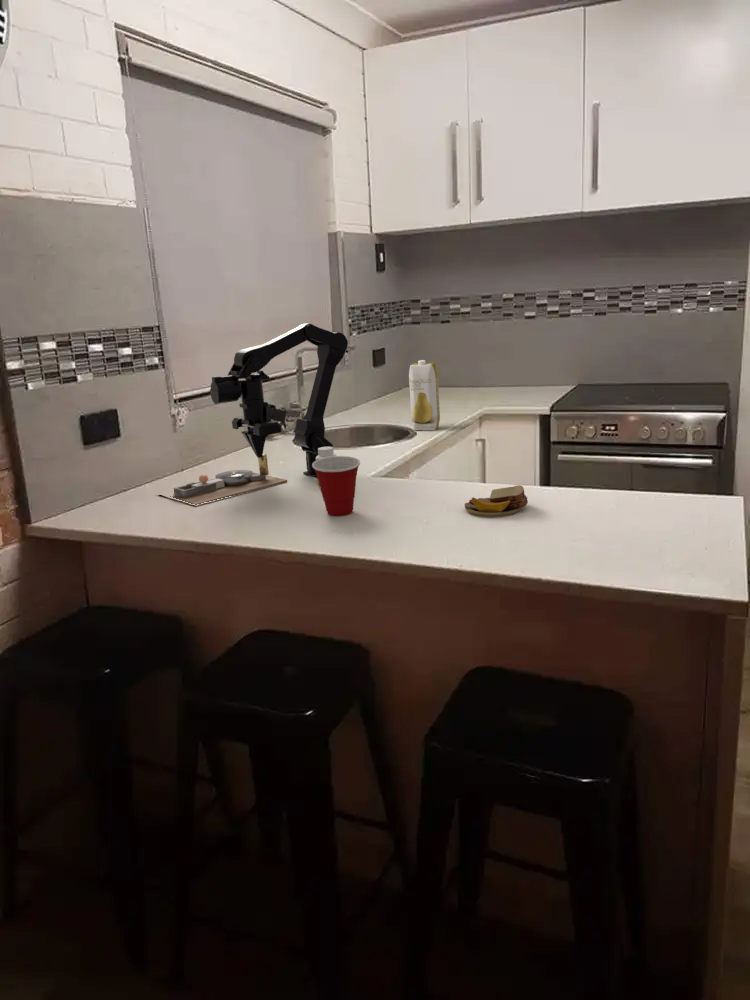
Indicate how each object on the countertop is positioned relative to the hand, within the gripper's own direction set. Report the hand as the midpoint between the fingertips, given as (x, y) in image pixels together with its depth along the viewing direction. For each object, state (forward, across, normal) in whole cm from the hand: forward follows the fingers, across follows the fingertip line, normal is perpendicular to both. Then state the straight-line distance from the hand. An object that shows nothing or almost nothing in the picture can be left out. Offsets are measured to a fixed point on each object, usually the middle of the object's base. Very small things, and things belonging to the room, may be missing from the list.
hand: (259, 457), depth 200 cm
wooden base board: (+8, +5, +9) cm, 13 cm away
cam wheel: (+7, +7, +3) cm, 10 cm away
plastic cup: (+8, -38, -2) cm, 39 cm away
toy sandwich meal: (+8, -61, -28) cm, 68 cm away
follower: (+7, +5, +14) cm, 16 cm away
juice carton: (+8, +30, -76) cm, 82 cm away
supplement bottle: (+8, -15, -12) cm, 21 cm away
